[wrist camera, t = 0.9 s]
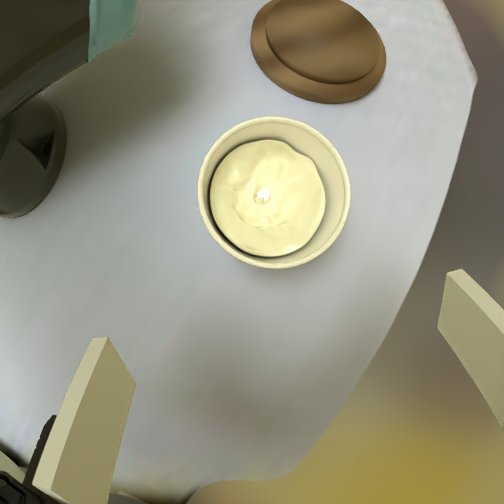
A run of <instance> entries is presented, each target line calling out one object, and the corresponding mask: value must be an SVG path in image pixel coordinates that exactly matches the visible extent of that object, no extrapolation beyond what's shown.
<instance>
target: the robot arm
mask: <svg viewBox="0 0 504 504" xmlns="http://www.w3.org/2000/svg"><path fill="white" fill-rule="evenodd" d="M137 20H138V2H137V0H0V217H8V218H13V217H18V216H21V215H24V214H26V213H27V212H29V211H31V210H32V209H33V208H35V207H36V206H37V205H38V204H39V203H40V202H41V201H42V200H43V199H44V197H45V196H46V195H47V193H48V192H49V191H50V189H51V187H52V186H53V184H54V182H55V180H56V178H57V176H58V173H59V171H60V168H61V165H62V162H63V158H64V154H65V147H66V129H65V124H64V120H63V117H62V115H61V113H60V111H59V110H58V109H57V107H56V106H55V105H54V104H52V103H51V102H50V101H48V100H47V99H46V98H44V97H42V96H40V95H38V93H40V92H41V91H43V90H44V89H45V88H47V87H48V86H50V85H51V84H53V83H54V82H56V81H57V80H59V79H60V78H62V77H63V76H65V75H66V74H68V73H69V72H71V71H72V70H74V69H76V68H77V67H79V66H81V65H82V64H84V63H87V64H89V63H90V62H92V61H93V60H94V58H95V57H96V56H97V55H99V54H101V53H102V52H104V51H106V50H107V49H109V48H111V47H113V46H114V45H116V44H118V43H120V42H122V41H123V40H125V39H126V38H127V37H128V36H129V35H130V34H131V33H132V32H133V30H134V28H135V27H136V24H137ZM437 328H438V329H439V331H440V332H441V333H442V335H443V336H444V337H445V339H446V340H447V342H448V343H449V345H450V346H451V347H452V349H453V350H454V352H455V353H456V355H457V356H458V357H459V359H460V361H461V362H462V364H463V365H464V367H465V368H466V370H467V371H468V373H469V374H470V376H471V377H472V379H473V380H474V382H475V383H476V385H477V386H478V388H479V390H480V391H481V393H482V395H483V396H484V398H485V399H486V401H487V403H488V404H489V406H490V408H491V409H492V411H493V412H494V414H495V416H496V418H497V420H498V421H499V423H500V425H501V426H502V428H503V430H504V310H503V309H502V308H501V307H500V306H499V305H498V304H497V303H496V302H495V301H494V300H493V299H492V298H491V297H490V296H489V295H488V294H487V293H486V292H485V291H484V290H483V289H482V288H481V287H480V286H479V285H478V284H477V283H476V282H475V281H474V280H473V279H472V278H471V277H470V276H469V275H468V274H467V273H465V272H464V271H463V270H462V269H459V270H455V271H452V272H448V273H447V275H446V282H445V288H444V294H443V300H442V307H441V311H440V316H439V321H438V326H437ZM135 386H136V383H135V381H134V380H133V378H132V376H131V375H130V373H129V372H128V370H127V368H126V367H125V365H124V363H123V362H122V360H121V358H120V357H119V355H118V353H117V352H116V350H115V348H114V346H113V345H112V343H111V341H110V339H109V337H100V338H92V340H91V342H90V344H89V346H88V348H87V350H86V352H85V354H84V357H83V359H82V361H81V363H80V365H79V367H78V369H77V371H76V374H75V376H74V378H73V380H72V382H71V384H70V387H69V389H68V391H67V394H66V396H65V398H64V400H63V403H62V405H61V407H60V410H59V412H58V415H52V417H51V418H50V419H49V420H48V421H47V423H46V424H45V425H44V427H43V430H42V432H41V435H40V439H39V440H38V442H37V445H36V447H37V448H36V449H35V450H34V453H33V456H32V458H31V461H30V464H29V466H28V469H27V472H26V475H25V478H24V480H23V483H20V482H19V481H18V480H16V479H15V478H14V477H12V476H11V475H10V474H9V473H7V472H5V471H0V504H107V502H108V496H109V492H110V487H111V482H112V478H113V473H114V469H115V464H116V460H117V455H118V451H119V447H120V443H121V439H122V435H123V431H124V427H125V423H126V419H127V415H128V411H129V407H130V404H131V400H132V396H133V393H134V389H135Z"/></svg>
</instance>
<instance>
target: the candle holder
mask: <svg viewBox="0 0 504 504" xmlns="http://www.w3.org/2000/svg"><path fill="white" fill-rule="evenodd" d="M197 197H198V204H199V209H200V213H201V216H202V218H203V221H204V223H205V225H206V227H207V229H208V231H209V232H210V234H211V235H212V237H213V238H214V239H215V240H216V242H217V243H218V244H219V245H220V246H221V247H222V248H223V249H225V250H226V251H227V252H228V253H230V254H231V255H232V256H234V257H236V258H237V259H239V260H241V261H243V262H245V263H248V264H251V265H254V266H257V267H262V268H270V269H282V268H290V267H295V266H298V265H301V264H304V263H306V262H309V261H311V260H312V259H314V258H316V257H318V256H319V255H320V254H322V253H323V252H324V251H325V250H327V249H328V248H329V247H330V246H331V245H332V243H333V242H334V241H335V240H336V239H337V237H338V236H339V234H340V232H341V231H342V229H343V227H344V225H345V222H346V220H347V217H348V213H349V209H350V202H351V188H350V181H349V176H348V172H347V169H346V167H345V164H344V162H343V160H342V158H341V156H340V155H339V153H338V151H337V150H336V149H335V147H334V146H333V145H332V144H331V143H330V141H329V140H328V139H327V138H325V137H324V136H323V135H322V134H321V133H319V132H318V131H317V130H315V129H314V128H312V127H310V126H308V125H306V124H304V123H302V122H299V121H297V120H293V119H289V118H284V117H260V118H255V119H251V120H248V121H245V122H242V123H240V124H238V125H236V126H234V127H233V128H231V129H230V130H228V131H227V132H225V133H224V134H223V135H222V136H221V137H220V138H219V139H218V140H217V141H216V142H215V143H214V144H213V146H212V147H211V148H210V150H209V151H208V153H207V155H206V157H205V159H204V161H203V163H202V166H201V169H200V173H199V177H198V185H197Z"/></svg>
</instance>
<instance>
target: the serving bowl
mask: <svg viewBox="0 0 504 504" xmlns="http://www.w3.org/2000/svg"><path fill="white" fill-rule="evenodd" d="M0 471H5V472H7V473H9V474H10V475H11V476H12V477H14V478H15V479H16V480H18V481H19V482H20V483H23V480H24V478H25V473H24V472H23V471H22V470H21V469H20V468H19V467H18V466H17V465H16V464H15V463H14V462H13V461H12V460H11V459H9V458H8V457H7V456H6V455H5V454H4V453H2V452H1V451H0Z"/></svg>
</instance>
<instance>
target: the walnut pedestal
mask: <svg viewBox="0 0 504 504" xmlns="http://www.w3.org/2000/svg"><path fill="white" fill-rule="evenodd" d="M251 50H252V53H253V56H254V58H255V60H256V63H257V64H258V66H259V67H260V69H261V70H262V71H263V72H264V74H265V75H266V76H267V77H268V78H269V79H270V80H271V81H273V82H274V83H275V84H276V85H278V86H279V87H281V88H282V89H284V90H286V91H287V92H289V93H291V94H293V95H295V96H297V97H300V98H303V99H306V100H309V101H313V102H318V103H326V104H337V103H345V102H350V101H353V100H356V99H358V98H360V97H362V96H363V95H365V94H366V93H367V92H369V91H370V90H371V89H372V88H373V87H374V85H375V84H376V83H377V82H378V81H379V80H380V78H381V77H382V75H383V73H384V70H385V66H386V52H385V48H384V45H383V42H382V40H381V38H380V36H379V34H378V32H377V31H376V29H375V28H374V27H373V25H372V24H371V23H370V22H369V21H368V20H367V19H366V18H365V17H364V16H363V15H362V14H361V13H360V12H359V11H357V10H356V9H355V8H353V7H352V6H350V5H348V4H347V3H345V2H343V1H341V0H272V1H270V2H268V3H267V4H266V5H264V6H263V7H262V8H261V9H260V10H259V12H258V13H257V14H256V17H255V19H254V21H253V25H252V31H251Z"/></svg>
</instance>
